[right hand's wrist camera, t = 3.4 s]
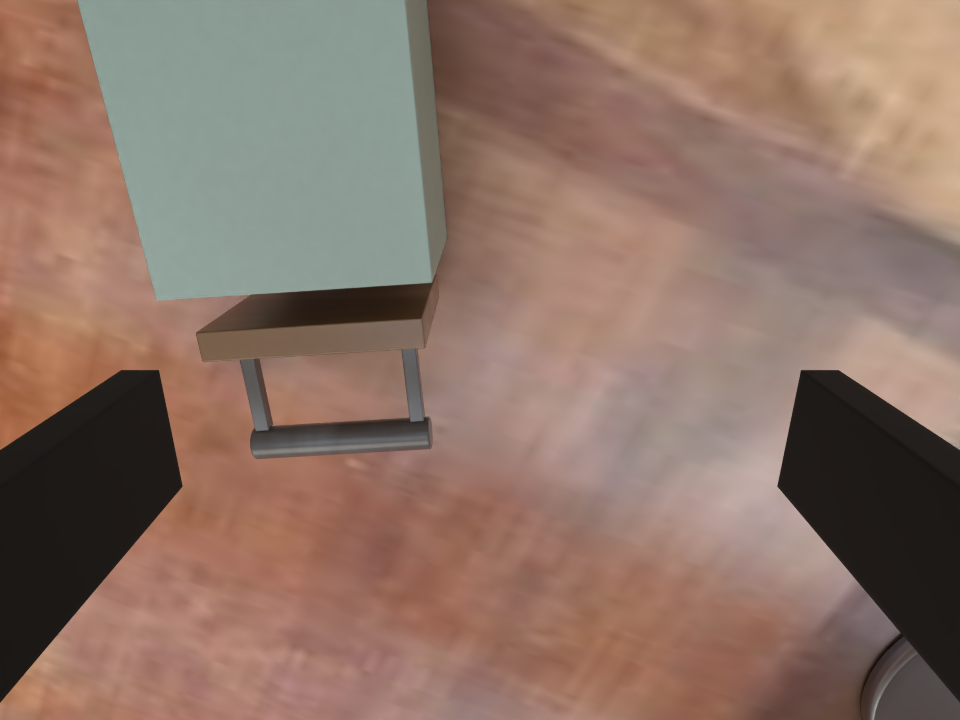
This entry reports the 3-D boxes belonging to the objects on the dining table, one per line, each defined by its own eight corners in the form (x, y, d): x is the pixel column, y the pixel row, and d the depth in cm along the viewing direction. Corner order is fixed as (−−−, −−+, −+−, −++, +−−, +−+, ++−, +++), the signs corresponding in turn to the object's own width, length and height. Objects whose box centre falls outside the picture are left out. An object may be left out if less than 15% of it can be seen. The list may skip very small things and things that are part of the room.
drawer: (448, 395, 32) (438, 471, 24) (287, 405, 32) (231, 482, 25) (392, -201, 23) (352, -353, 16) (171, -182, 23) (33, -323, 16)
